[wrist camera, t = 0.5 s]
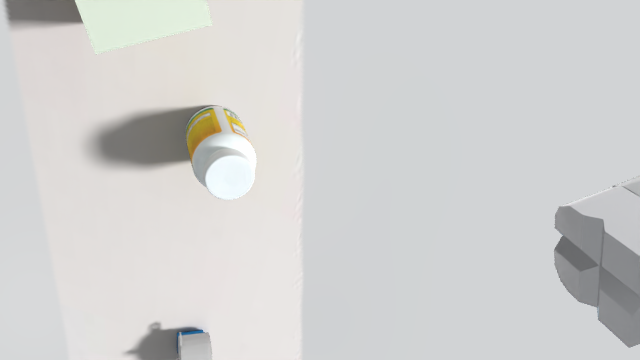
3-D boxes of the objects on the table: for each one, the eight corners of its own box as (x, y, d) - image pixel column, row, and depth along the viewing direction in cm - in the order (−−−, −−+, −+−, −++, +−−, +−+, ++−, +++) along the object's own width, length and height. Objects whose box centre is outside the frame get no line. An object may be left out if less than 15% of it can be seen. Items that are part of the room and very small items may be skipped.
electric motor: (161, 317, 62) (165, 350, 58) (207, 312, 64) (213, 344, 59) (162, 365, 65) (165, 400, 61) (205, 359, 67) (211, 393, 62)
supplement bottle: (245, 106, 54) (268, 149, 46) (238, 158, 56) (259, 208, 48) (186, 102, 52) (199, 146, 44) (181, 156, 54) (193, 207, 46)
